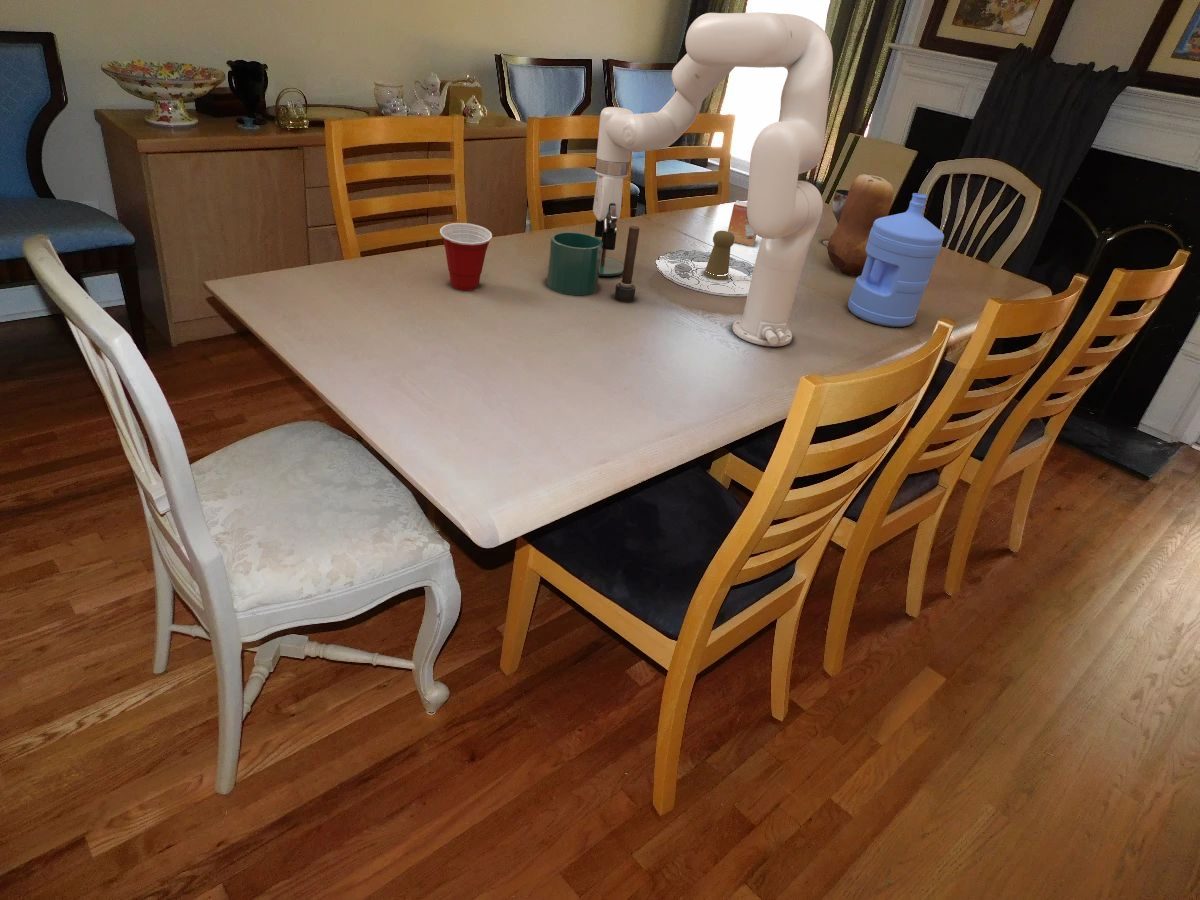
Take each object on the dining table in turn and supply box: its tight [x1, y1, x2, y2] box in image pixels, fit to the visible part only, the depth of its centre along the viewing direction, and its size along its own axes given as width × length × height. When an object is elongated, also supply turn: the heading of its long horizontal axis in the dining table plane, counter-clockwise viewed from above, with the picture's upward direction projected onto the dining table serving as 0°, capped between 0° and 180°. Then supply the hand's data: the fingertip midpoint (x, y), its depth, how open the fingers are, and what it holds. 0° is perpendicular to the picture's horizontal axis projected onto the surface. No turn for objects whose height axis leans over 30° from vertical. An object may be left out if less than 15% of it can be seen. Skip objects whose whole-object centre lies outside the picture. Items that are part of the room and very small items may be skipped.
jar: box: [546, 231, 603, 296], centre depth 171 cm, size 11×11×10 cm
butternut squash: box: [826, 173, 895, 276], centre depth 201 cm, size 14×13×25 cm
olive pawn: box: [703, 230, 735, 281], centre depth 188 cm, size 6×6×11 cm
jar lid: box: [599, 249, 624, 277], centre depth 183 cm, size 12×12×6 cm
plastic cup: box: [439, 222, 493, 291], centre depth 162 cm, size 11×11×12 cm
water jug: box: [847, 192, 945, 328], centre depth 174 cm, size 16×16×28 cm
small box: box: [727, 199, 757, 247], centre depth 216 cm, size 8×6×10 cm
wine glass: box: [822, 189, 850, 246], centre depth 224 cm, size 8×8×15 cm
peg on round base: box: [614, 225, 641, 303], centre depth 166 cm, size 4×4×16 cm
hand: (604, 242), depth 181 cm, fingers open, 9 cm apart
